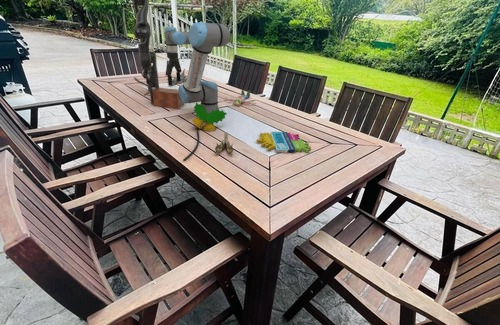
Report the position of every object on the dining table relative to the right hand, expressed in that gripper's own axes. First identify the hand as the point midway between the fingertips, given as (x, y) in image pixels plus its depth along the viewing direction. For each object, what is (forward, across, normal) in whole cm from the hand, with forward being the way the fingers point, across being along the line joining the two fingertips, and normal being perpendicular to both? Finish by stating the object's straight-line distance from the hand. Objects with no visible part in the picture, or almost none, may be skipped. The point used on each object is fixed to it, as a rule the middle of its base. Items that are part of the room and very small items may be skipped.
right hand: (174, 83), depth 191 cm
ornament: (+17, +34, +38) cm, 54 cm away
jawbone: (+17, +61, +56) cm, 85 cm away
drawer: (+16, 0, -12) cm, 20 cm away
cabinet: (+17, 0, -6) cm, 18 cm away
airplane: (+17, -74, -32) cm, 82 cm away
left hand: (+3, 0, -21) cm, 21 cm away
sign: (+17, +40, +85) cm, 95 cm away
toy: (+17, -33, +43) cm, 57 cm away
